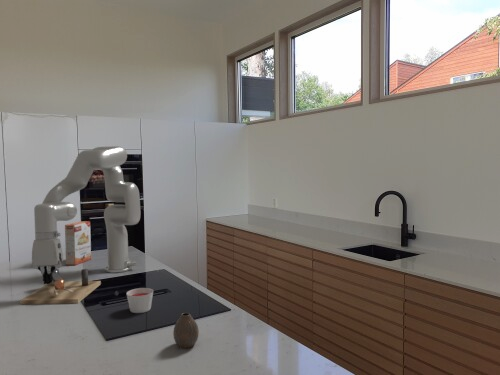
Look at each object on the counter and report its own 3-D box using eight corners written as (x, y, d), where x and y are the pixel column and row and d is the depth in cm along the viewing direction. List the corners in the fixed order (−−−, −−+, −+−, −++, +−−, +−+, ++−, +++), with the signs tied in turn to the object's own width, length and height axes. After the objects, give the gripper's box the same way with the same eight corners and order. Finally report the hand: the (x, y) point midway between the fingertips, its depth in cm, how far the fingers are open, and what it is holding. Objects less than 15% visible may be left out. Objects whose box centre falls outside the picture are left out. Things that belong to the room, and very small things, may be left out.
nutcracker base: (100, 284, 169) (99, 265, 168) (78, 303, 146) (77, 281, 145) (51, 285, 168) (50, 266, 168) (20, 304, 145) (19, 282, 145)
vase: (175, 340, 114) (174, 310, 113) (199, 338, 114) (198, 309, 114) (172, 351, 107) (171, 319, 106) (198, 350, 107) (197, 318, 107)
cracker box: (76, 265, 202) (74, 224, 201) (65, 265, 203) (63, 224, 202) (92, 259, 216) (90, 220, 214) (82, 258, 217) (80, 220, 216)
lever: (46, 277, 165) (46, 269, 165) (58, 275, 167) (57, 268, 167) (53, 290, 147) (53, 282, 146) (66, 288, 149) (66, 280, 149)
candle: (158, 306, 141) (158, 289, 141) (144, 316, 132) (143, 297, 132) (137, 304, 144) (136, 287, 144) (121, 313, 135) (120, 294, 135)
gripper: (70, 234, 156) (71, 280, 157) (32, 234, 156) (33, 280, 157) (61, 237, 148) (62, 285, 149) (21, 237, 148) (23, 286, 149)
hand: (47, 283), depth 153 cm, fingers closed
